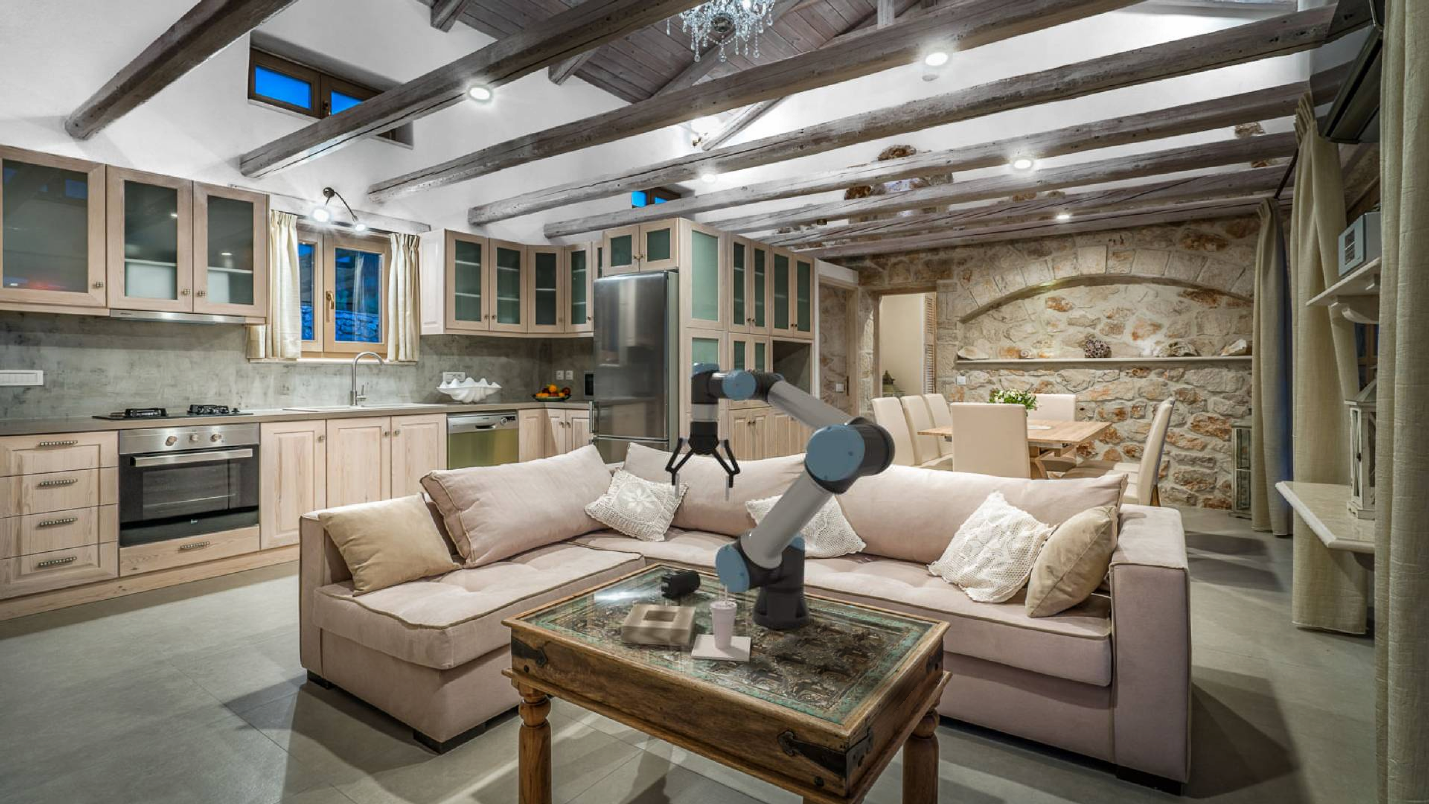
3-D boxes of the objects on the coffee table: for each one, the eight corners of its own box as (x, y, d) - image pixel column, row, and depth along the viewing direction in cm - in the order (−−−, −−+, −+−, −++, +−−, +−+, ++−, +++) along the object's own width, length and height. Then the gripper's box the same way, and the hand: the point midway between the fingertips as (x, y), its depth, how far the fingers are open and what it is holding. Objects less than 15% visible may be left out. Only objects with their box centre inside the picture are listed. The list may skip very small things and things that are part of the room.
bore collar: (695, 622, 169) (695, 607, 169) (687, 646, 153) (688, 629, 153) (634, 619, 170) (634, 603, 170) (620, 642, 154) (620, 625, 154)
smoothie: (740, 650, 150) (741, 589, 150) (713, 652, 148) (714, 591, 148) (731, 639, 156) (732, 581, 156) (705, 642, 154) (706, 583, 154)
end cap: (677, 602, 185) (677, 578, 185) (659, 596, 190) (660, 573, 190) (700, 594, 193) (701, 571, 192) (683, 589, 197) (683, 567, 197)
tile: (750, 639, 158) (750, 637, 158) (748, 661, 145) (749, 658, 145) (697, 636, 159) (697, 634, 159) (690, 658, 146) (690, 655, 146)
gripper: (750, 421, 179) (748, 498, 179) (660, 418, 181) (658, 495, 181) (750, 422, 171) (747, 503, 171) (656, 419, 173) (653, 499, 173)
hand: (702, 499), depth 176 cm, fingers open, 13 cm apart
